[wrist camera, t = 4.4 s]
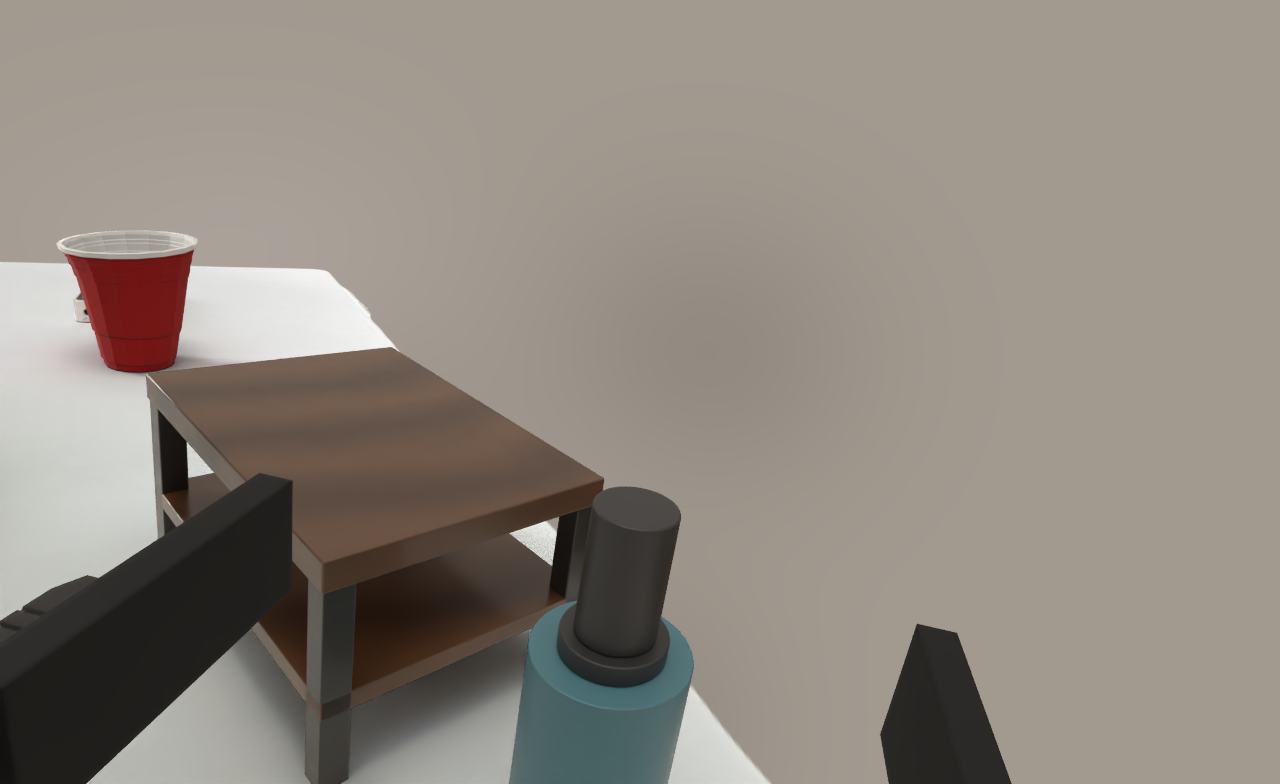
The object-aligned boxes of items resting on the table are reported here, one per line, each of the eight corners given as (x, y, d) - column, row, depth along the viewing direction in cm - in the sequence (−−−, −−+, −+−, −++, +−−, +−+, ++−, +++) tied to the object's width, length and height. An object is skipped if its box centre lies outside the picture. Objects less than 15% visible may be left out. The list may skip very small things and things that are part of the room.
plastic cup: (95, 339, 78) (85, 219, 74) (215, 348, 81) (212, 232, 77) (45, 378, 68) (31, 241, 64) (184, 386, 71) (178, 256, 67)
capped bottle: (465, 874, 32) (510, 489, 26) (576, 800, 36) (636, 453, 30) (559, 996, 28) (637, 579, 22) (670, 897, 32) (761, 524, 26)
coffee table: (156, 556, 48) (145, 373, 44) (383, 498, 58) (391, 346, 54) (316, 797, 34) (322, 563, 30) (575, 664, 45) (605, 478, 41)
